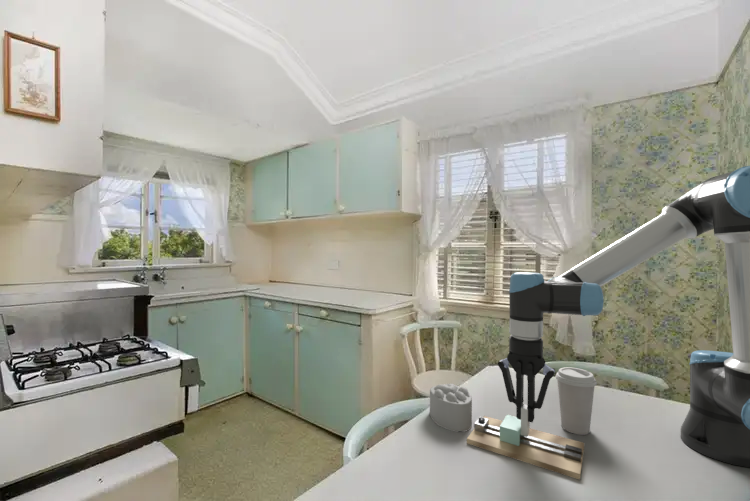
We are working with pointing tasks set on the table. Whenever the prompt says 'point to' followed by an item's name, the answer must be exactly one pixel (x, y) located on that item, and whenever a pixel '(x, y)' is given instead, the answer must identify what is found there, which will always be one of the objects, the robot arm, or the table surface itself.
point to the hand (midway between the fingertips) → (525, 433)
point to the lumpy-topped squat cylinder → (451, 407)
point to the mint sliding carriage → (510, 430)
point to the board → (531, 450)
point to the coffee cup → (575, 399)
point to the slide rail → (568, 451)
